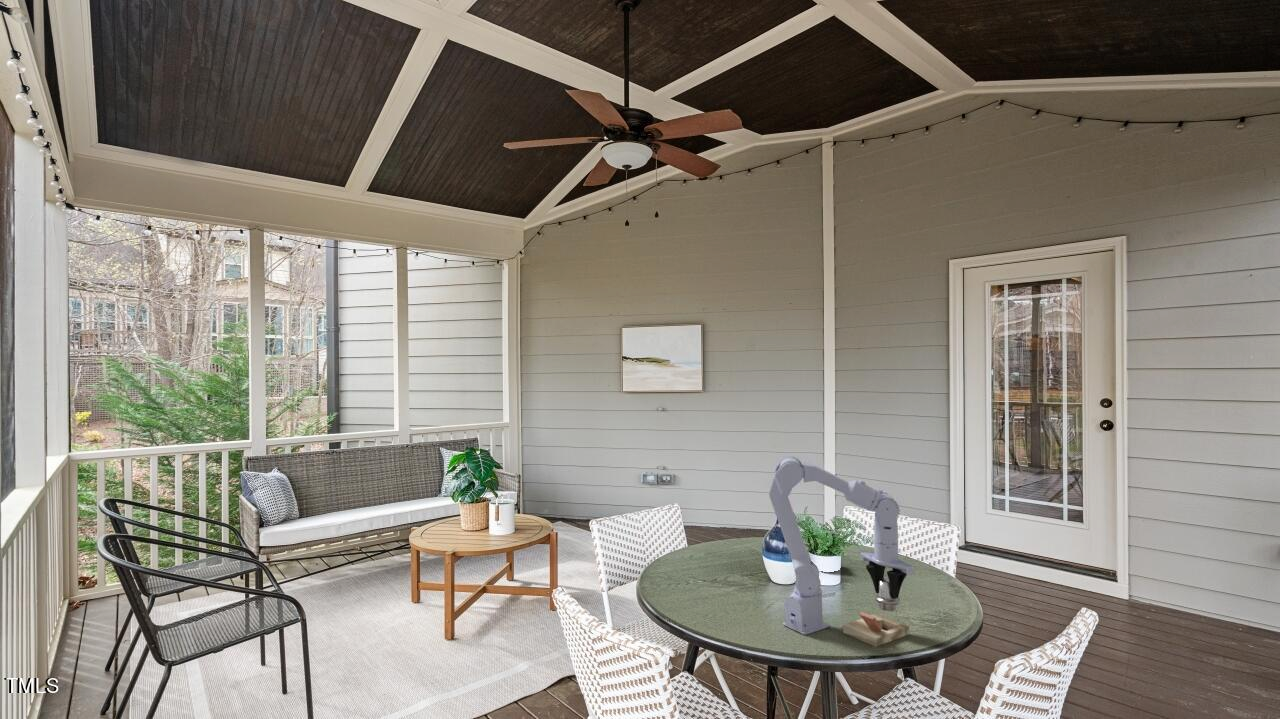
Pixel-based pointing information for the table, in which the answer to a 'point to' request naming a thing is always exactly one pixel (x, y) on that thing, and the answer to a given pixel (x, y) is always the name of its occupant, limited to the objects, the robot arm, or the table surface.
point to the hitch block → (876, 631)
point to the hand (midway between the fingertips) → (886, 595)
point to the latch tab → (871, 621)
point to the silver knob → (886, 596)
